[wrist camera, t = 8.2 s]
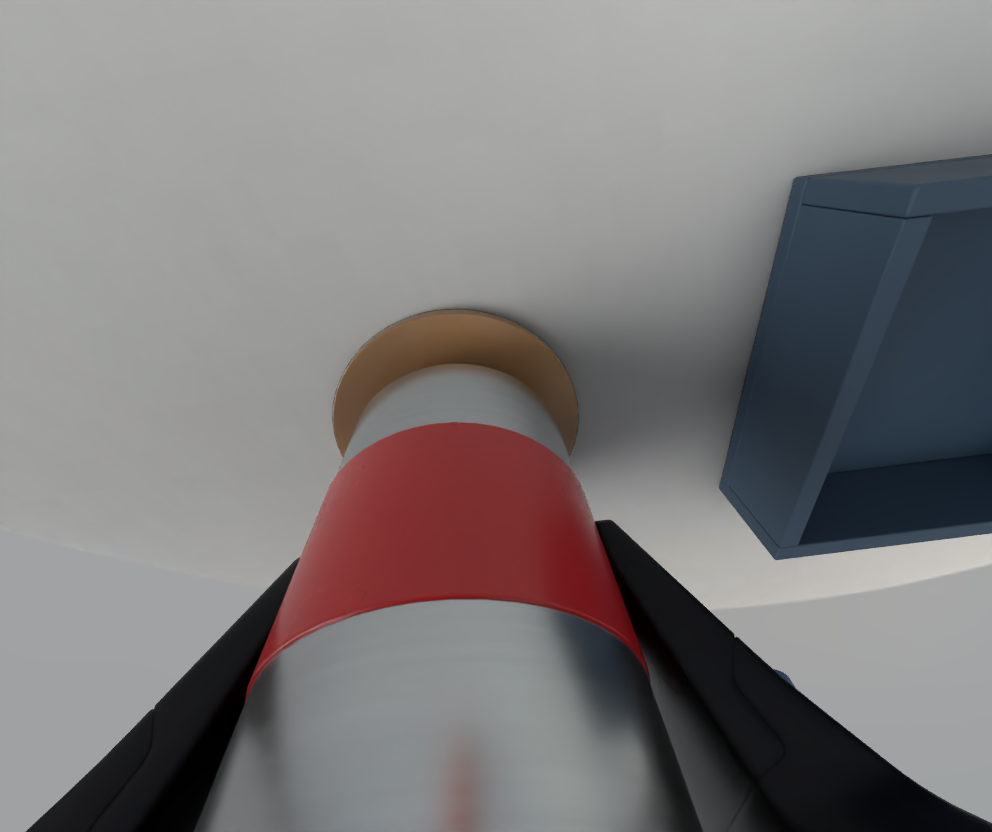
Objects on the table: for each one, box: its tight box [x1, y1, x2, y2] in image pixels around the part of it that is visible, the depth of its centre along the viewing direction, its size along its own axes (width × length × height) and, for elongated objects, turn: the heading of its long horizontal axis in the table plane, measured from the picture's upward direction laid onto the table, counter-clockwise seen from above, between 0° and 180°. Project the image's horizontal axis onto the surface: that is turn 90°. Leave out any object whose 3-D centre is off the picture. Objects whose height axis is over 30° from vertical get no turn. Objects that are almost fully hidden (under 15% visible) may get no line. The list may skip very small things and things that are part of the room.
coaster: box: [332, 309, 579, 457], centre depth 14 cm, size 8×8×1 cm
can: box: [194, 364, 703, 832], centre depth 8 cm, size 6×6×10 cm
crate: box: [719, 154, 992, 560], centre depth 12 cm, size 11×11×4 cm
